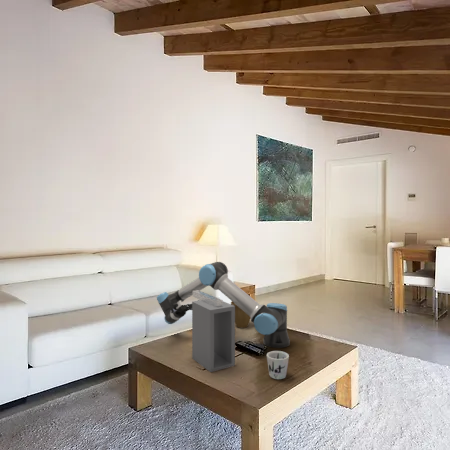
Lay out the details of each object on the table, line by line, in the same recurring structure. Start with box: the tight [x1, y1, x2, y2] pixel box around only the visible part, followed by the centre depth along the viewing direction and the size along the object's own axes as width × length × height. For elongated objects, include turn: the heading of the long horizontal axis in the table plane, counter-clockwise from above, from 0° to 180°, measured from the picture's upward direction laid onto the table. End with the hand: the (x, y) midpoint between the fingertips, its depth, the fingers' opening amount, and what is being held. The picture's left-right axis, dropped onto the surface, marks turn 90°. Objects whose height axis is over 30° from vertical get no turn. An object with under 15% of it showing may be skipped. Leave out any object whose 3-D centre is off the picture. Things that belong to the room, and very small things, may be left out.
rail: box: [192, 290, 224, 307], centre depth 196 cm, size 26×4×3 cm, turn 32°
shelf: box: [191, 300, 236, 373], centre depth 192 cm, size 19×14×30 cm
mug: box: [266, 350, 290, 380], centre depth 179 cm, size 10×15×10 cm
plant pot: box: [230, 301, 251, 329], centre depth 249 cm, size 15×15×16 cm
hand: (192, 301), depth 211 cm, fingers open, 13 cm apart
